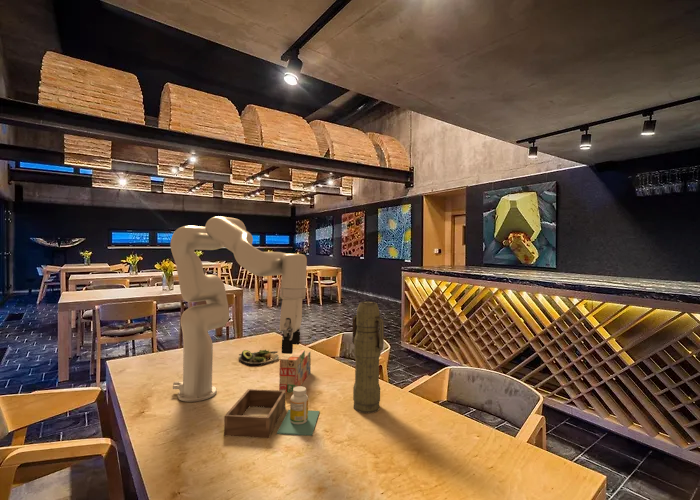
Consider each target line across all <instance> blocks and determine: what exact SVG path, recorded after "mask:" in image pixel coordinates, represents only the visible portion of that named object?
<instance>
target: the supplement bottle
mask: <svg viewBox="0 0 700 500" xmlns="http://www.w3.org/2000/svg"><path fill="white" fill-rule="evenodd" d="M289 405H290V409H289V410H290V421H291V423H293V424H297V425H299V424H304V423H305V422H307V420H308V410H309V396H308V394H307V388H306V387H305V386H302V385H301V386H298V387H295V388H293V393H292V395H291V397H290V404H289Z"/></svg>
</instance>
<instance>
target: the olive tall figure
mask: <svg viewBox="0 0 700 500" xmlns="http://www.w3.org/2000/svg"><path fill="white" fill-rule="evenodd" d="M358 303H359V304H358V306H357V309H356V314H355V315H353V317H352V320H351V321H352V322H351V323H352V325H351V326H352V340H351V341H352V342H351V343H352V344H353V347H354V348H353V354H354V356H355V358H354V359H355V368H354V369H355V370H354V371H355V372H354V373H355V374H354V377H355V378H354V385H353V387H352V388H353V389H352V392H353V393H352V395H353V397H352V400H353V409H354V411H356V412H358V413H362V414H373V413H376V412H378V411H379V410H380V408H381V407H380V401H381V386H380V383H379V381H380V376H379V375H380V356H381V354H382V353H381V352H382V351H383V350H384V344H385V342H384V337H385V333H384V332H385V321H384V319H383V318H382V317H381V316H380V309H379V305H378V303H377V302H375V301H372V300H368V301H367V300H364V301H361V302H358Z"/></svg>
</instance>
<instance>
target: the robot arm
mask: <svg viewBox="0 0 700 500" xmlns="http://www.w3.org/2000/svg"><path fill="white" fill-rule="evenodd" d="M253 242H254V238H253V235H252V233H251V232H249V231H248V230H247V227H246V226H245V224H244V222H243V220H240V219H238V218H234V217H229V216H228V217H227V216H221V215H220V216H219V215H218V216H213V217H211V218H209V219H208V220H207V221H206V223H205V226H202V225H201V226H200V225H199V226H198V225H183V226H181V227H178V228H176V230H174V232H173V234H172V236H171V239H170V250H171V253H172V254H171V255H172V257H173V260H174V263H175V266H176V267H175V268H176V272H177V273H176V274H177V278H178V284H179V289H180V294H181V297H182V299H183V301H185V302H187V303H196V302H204V301H205V302H206V304H205V303H204V304H198V305H194V306H191V307H188V308H186V309H185V310H184V311H183V312H182V314H181V317H180V326H181V330H182V331H181V332H182V340H183V342H182V343H183V345H182V346H183V347H182V348H183V350H182V352H183V356H182V357H183V358H182V359H183V361H182V362H183V363H182V367H183V368H182V381H173V383H172V390H179V392H177V399H178V400H179V401H182V402H186V403H194V402H201V401H206V400H208V399H210V398H212V397H214V396H215V395H216V394H217V387H216V386H214V385H213V357H214V356H213V354H214V353H213V351H214V350H213V349H214V348H213V340H212V338H211V336H210V335H209V332H210V331H212V330H216V329H220V328H222V327H224V326H225V325H226V324H228V322H229V319H230V308H229V302H228V297H227V292H226V287H225V284H224V281H223V279H221V278H220V276H218V275H215V274H205V271H204V268H203V267H204V266H203V262H202V260H201V259H200V257H199V255H198V254H197V253H196V252H195V250H197V251H198V250H199V251H204V250H205V251H214V250H219V249H222V248H225V249H227V250H228V251H230V252H231V253H233V256H234V259H235V261H236V262H237V264H238V265H240V266H241V267H242V268H243V269H245V270H246V271H247V272H249V273H250V274H253V275H254V276H258V277H262V278H263V277H270V276H271V277H274V276H281V281H280V282H281V283H280V299H282V301H281V308H280V316H279V317H280V318H279V319H280V320H279V332H280V333H282V334H281V335H282V338H281V354H283V355H285V354H292V353H293V350H294V345H297V346H298V345H300V341H301V326H302V321H303V320H302V319H303V300H305V299H306V291H307V289H306V286H307V285H306V284H307V267H308V266H307V265H308V262H307V261H308V260H307V256H306V255H305V254H304V253H303V254H302V253H286V252H282V251H262V250H260V249H259V248H257V247H255V246H253Z"/></svg>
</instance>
